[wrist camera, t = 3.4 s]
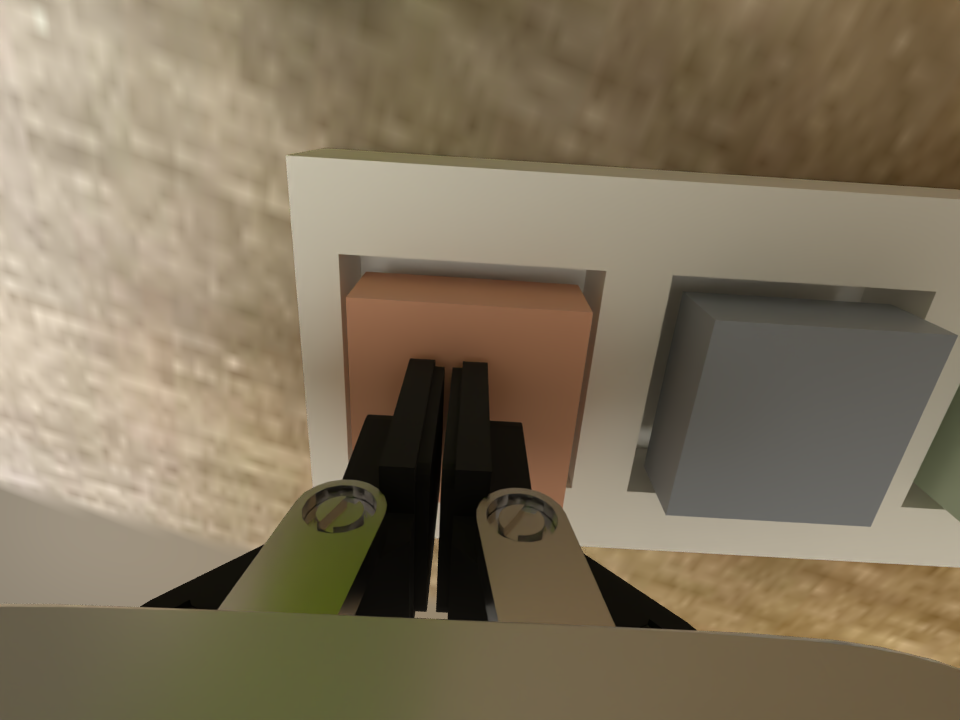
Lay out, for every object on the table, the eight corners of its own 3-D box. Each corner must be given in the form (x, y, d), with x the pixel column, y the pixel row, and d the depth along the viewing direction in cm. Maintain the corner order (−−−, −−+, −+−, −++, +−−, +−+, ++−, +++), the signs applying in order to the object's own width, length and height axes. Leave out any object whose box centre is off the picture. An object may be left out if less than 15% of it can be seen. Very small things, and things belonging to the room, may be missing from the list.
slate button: (891, 304, 13) (958, 335, 11) (823, 476, 15) (871, 526, 13) (682, 291, 13) (715, 320, 11) (643, 466, 15) (665, 515, 13)
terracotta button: (577, 284, 13) (593, 312, 11) (553, 460, 15) (562, 509, 13) (366, 271, 13) (345, 297, 11) (370, 450, 15) (354, 497, 13)
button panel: (1198, 205, 14) (1369, 226, 11) (1020, 507, 18) (1113, 576, 16) (325, 147, 14) (285, 155, 11) (342, 468, 18) (316, 531, 15)
